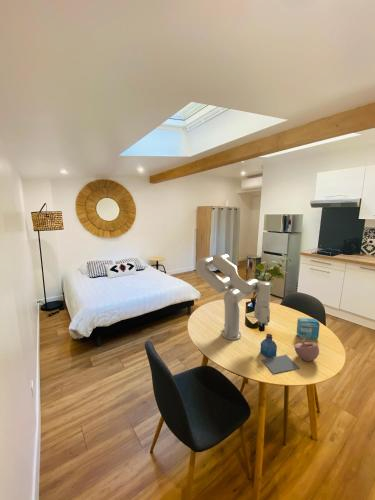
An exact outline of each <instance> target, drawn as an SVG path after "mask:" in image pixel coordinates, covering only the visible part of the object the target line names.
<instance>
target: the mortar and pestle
mask: <svg viewBox="0 0 375 500" xmlns="http://www.w3.org/2000/svg"><path fill="white" fill-rule="evenodd" d="M306 339H307V338H303V339H302V340H301V342H300V343H296V344H295V345H294V351H295V352H296V355H297V356H298V357H299V358H300V359H301V360H304V361H307V362H310V361H315V360H316V359H317V358H318V356H320V355H319V354H320V350H319V349H320V348H319V345H318V344H317V343H316V342H311V341H310V342H309V341H307V342H306Z"/></svg>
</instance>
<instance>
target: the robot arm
mask: <svg viewBox="0 0 375 500" xmlns="http://www.w3.org/2000/svg"><path fill="white" fill-rule="evenodd" d="M211 268H216V269H218V271H220V272H221V273H223V274H224V275H225V276H222V277H221V276H219V274H217V273H215V272H214V271H213V270H210V269H211ZM195 271H196V273H197V275H198V276H199V277H200V278H201V279H202V280H204V281H205V282H206V283H207V284H208V285H209V286H210V287H211V288H213V290H215V292H217V293H218V294H223V293H224V292H225V293H224V295H223V303H224V325H223V326H224V328H223V329H224V330H223V329H222V331H221V335H222V337H223V338H224V339H227V340H231V341H235V340H236V341H237V340H239V339H241V337H242V333H241V332H240V306H239V303H240V302H241V301H242V300H244V299H245V298H246V296H249V295H251V294H253V293H254V292H256V299H255V300H256V301H255V305H254V311H253V312H254V314H253V315H254V318H255V319H256V320H257V324H258V331H259V332H260V333H262V332H265V331H266V327H268V326H269V323H270V321H271V311H270V304H271V303H270V302H271V301H270V300H271V284H270V282H268V281H264V280H263V281H262V280H260V279H256V278H250V279H248V280H244V279H243V278H242V277H240V276H239V274H238V266H237V265H235V264H234V263H232V262H231V257H230V255H229V254H227V253H220V254H214V255H213V254H211V255H208V256H206V257H201V258H200V259H198V260H197V261H196V262H195Z"/></svg>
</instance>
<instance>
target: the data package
mask: <svg viewBox="0 0 375 500" xmlns="http://www.w3.org/2000/svg"><path fill="white" fill-rule="evenodd" d="M320 326H321V325H320V322H319V321H318V319H316V318H306V317H299V318H298V319H297V323H296V334H297V336H298V338H299V339H304V338H305V339H309V340H310V339H311V340H317V339H318V338H319V334H320V333H319V332H320Z"/></svg>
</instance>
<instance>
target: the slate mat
mask: <svg viewBox="0 0 375 500" xmlns="http://www.w3.org/2000/svg"><path fill="white" fill-rule="evenodd" d="M260 361H261V362H262V363H263V364H264V366H265V367H266V368H267V369H268V370H269V371H270V372H271V373H272V375H276V374H280V373H285V372H291V371H296V370H300V369H301V367H300V366H299V365H298V364H297V363H296V362H294V360H292V359H291V358H290V357H289V356H288V355H287V354H283V355H278V356H277V355H276V356H274V357H271V358H267V357H266V358H263V359H261V360H260Z"/></svg>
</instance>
